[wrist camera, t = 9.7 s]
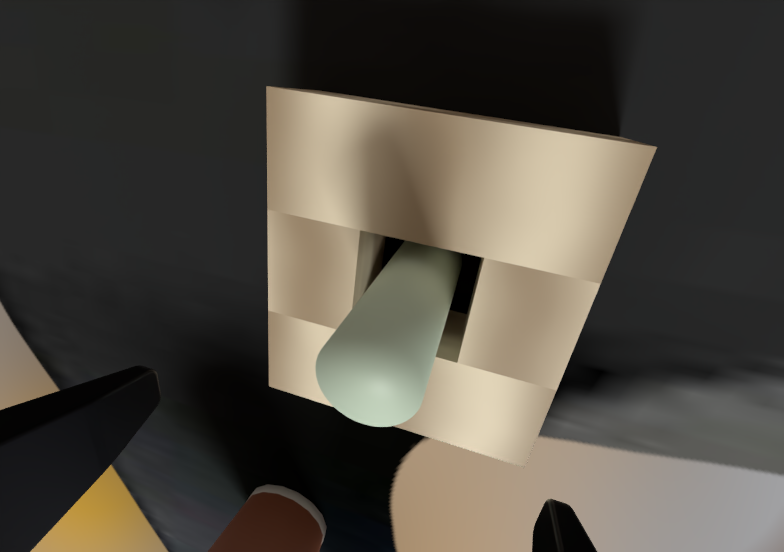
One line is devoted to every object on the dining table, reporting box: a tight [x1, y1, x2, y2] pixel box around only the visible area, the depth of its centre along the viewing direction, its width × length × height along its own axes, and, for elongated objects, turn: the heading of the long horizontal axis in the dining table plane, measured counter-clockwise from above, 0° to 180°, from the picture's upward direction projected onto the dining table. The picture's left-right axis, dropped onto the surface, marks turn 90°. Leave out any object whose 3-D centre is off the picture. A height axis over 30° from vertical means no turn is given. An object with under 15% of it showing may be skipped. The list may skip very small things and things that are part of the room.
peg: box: [315, 240, 462, 427], centre depth 14 cm, size 3×3×9 cm
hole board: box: [267, 86, 657, 467], centre depth 16 cm, size 12×13×4 cm
